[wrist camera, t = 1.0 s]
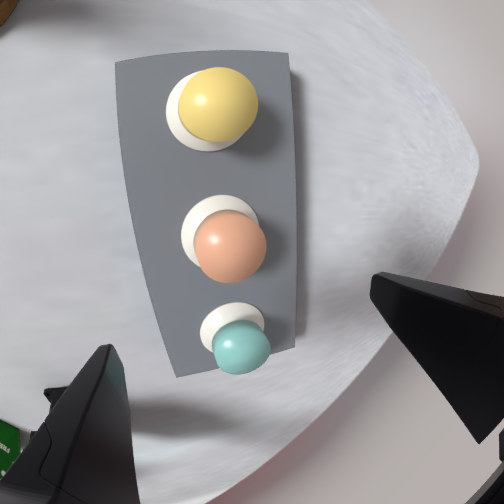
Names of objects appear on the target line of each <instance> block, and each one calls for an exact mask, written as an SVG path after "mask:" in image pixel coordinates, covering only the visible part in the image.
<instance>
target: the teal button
mask: <svg viewBox="0 0 504 504" xmlns="http://www.w3.org/2000/svg"><path fill="white" fill-rule="evenodd" d="M212 350H213V353H214V356H215V359H216V362H217V364H218V366H219V368H220V369H221V370H223V371H224V372H226V373H229V374H245V373H248V372H251V371H253V370H255V369H257V368H258V367H260V366H261V365H262V364H263V363H264V362H265V361H266V360H267V358H268V356H269V354H270V350H271V347H270V343H269V341H268V339H267V337H266V336H265V334H264V332H263V331H262V329H261V327H260V326H259V325H258V324H257V323H255V322H253V321H250V320H235V321H232V322H229V323H227V324H225V325H224V326H222V327H221V328H220V329H219V330H218V331H217V332H216V333H215V335H214V337H213V339H212Z"/></svg>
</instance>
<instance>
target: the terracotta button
mask: <svg viewBox="0 0 504 504" xmlns="http://www.w3.org/2000/svg"><path fill="white" fill-rule="evenodd" d="M193 246H194V251H195V254H196V257H197V260H198V262H199V265H200V267H201V269H202V270H203V272H204V273H205V274H206V275H207V276H208V277H210V278H211V279H213V280H215V281H218V282H222V283H235V282H239V281H242V280H244V279H246V278H248V277H250V276H251V275H252V274H253V273H255V272H256V271H257V269H258V268H259V267H260V266H261V264H262V262H263V260H264V258H265V254H266V239H265V236H264V233H263V231H262V230H261V228H260V227H259V226H258V225H257V224H256V223H255V222H254V221H252V220H251V219H250V218H249V217H248V216H247V215H245V214H244V213H242V212H240V211H236V210H232V209H225V210H219V211H216V212H214V213H212V214H210V215H208V216H207V217H206V218H205V219H204V220H203V221H202V222H201V223H200V224H199V226H198V227H197V229H196V232H195V235H194V240H193Z"/></svg>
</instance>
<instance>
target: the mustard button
mask: <svg viewBox="0 0 504 504" xmlns="http://www.w3.org/2000/svg"><path fill="white" fill-rule="evenodd" d="M257 111H258V97H257V93H256V91H255V88H254V87H253V85H252V83H251V82H250V81H249V80H248V79H247V78H246V77H245V76H244V75H242V74H241V73H239V72H238V71H235V70H233V69H229V68H224V67H214V68H209V69H206V70H203V71H201V72H199V73H197V74H196V75H194V76H193V77H192V78H191V79H190V80H189V81H188V82H187V84H186V85H185V87H184V89H183V91H182V93H181V95H180V97H179V101H178V116H179V119H180V121H181V124H182V125H183V127H184V128H185V129H186V130H187V131H188V132H189V133H190V134H191V135H193V136H194V137H196V138H198V139H201V140H204V141H211V142H219V141H228V140H232V139H234V138H237V137H239V136H240V135H242V134H243V133H245V132H246V131H247V130H248V129H249V128H250V126H251V125H252V124H253V122H254V120H255V118H256V115H257Z"/></svg>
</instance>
